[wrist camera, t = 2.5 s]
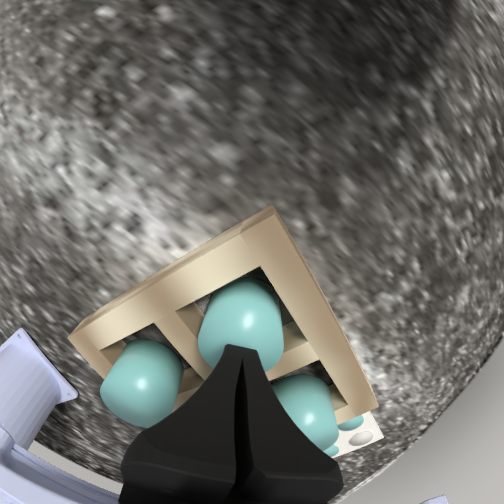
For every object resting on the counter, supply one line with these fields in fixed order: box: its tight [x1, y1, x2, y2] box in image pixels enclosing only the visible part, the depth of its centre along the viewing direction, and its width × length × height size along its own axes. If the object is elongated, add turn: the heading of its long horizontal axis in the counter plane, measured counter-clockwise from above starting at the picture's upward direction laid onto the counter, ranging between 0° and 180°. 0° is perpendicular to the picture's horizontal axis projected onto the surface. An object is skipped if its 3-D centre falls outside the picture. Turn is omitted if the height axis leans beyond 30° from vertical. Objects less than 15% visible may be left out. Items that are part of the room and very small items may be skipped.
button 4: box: [198, 277, 284, 372], centre depth 15 cm, size 4×4×4 cm
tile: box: [323, 411, 384, 458], centre depth 21 cm, size 7×7×1 cm
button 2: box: [100, 339, 184, 428], centre depth 15 cm, size 4×4×4 cm
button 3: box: [272, 375, 339, 451], centre depth 15 cm, size 4×4×4 cm
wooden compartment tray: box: [68, 204, 379, 425], centre depth 17 cm, size 15×15×2 cm
